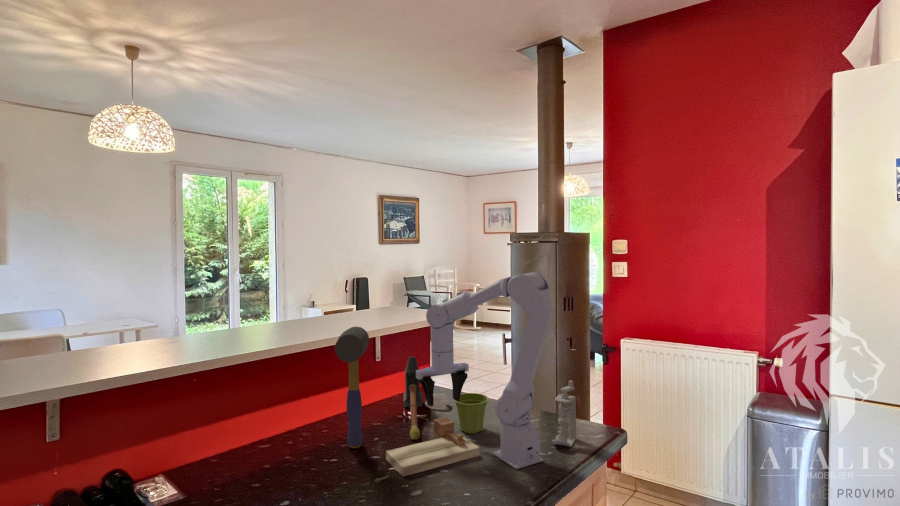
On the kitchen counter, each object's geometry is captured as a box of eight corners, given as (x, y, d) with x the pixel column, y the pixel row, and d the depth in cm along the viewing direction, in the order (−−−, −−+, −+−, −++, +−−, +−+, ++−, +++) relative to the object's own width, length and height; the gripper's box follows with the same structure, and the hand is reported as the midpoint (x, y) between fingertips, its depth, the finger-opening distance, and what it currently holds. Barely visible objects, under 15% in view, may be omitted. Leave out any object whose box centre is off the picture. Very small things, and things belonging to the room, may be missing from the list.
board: (479, 455, 117) (479, 447, 117) (402, 476, 107) (402, 467, 107) (458, 441, 125) (458, 433, 125) (386, 459, 116) (385, 450, 116)
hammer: (403, 405, 125) (402, 353, 154) (404, 458, 128) (403, 399, 157) (426, 403, 125) (421, 353, 154) (426, 457, 129) (421, 398, 158)
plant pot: (489, 436, 128) (489, 403, 128) (454, 436, 128) (453, 404, 128) (487, 423, 138) (487, 392, 137) (454, 423, 138) (454, 393, 138)
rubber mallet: (366, 456, 117) (363, 332, 117) (335, 457, 117) (332, 333, 116) (372, 436, 130) (370, 324, 129) (344, 437, 129) (342, 325, 129)
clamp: (550, 449, 120) (549, 388, 119) (560, 435, 128) (559, 378, 128) (567, 452, 118) (566, 390, 117) (576, 437, 126) (576, 380, 126)
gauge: (468, 452, 119) (468, 431, 119) (455, 455, 117) (455, 434, 117) (446, 436, 129) (445, 417, 129) (433, 439, 127) (433, 419, 127)
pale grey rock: (422, 412, 150) (421, 397, 150) (428, 403, 157) (426, 389, 156) (448, 412, 149) (446, 397, 148) (452, 403, 155) (451, 388, 155)
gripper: (458, 344, 133) (459, 393, 133) (410, 350, 126) (411, 403, 126) (472, 348, 127) (473, 400, 127) (422, 356, 120) (423, 410, 120)
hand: (443, 402), depth 126 cm, fingers open, 7 cm apart
